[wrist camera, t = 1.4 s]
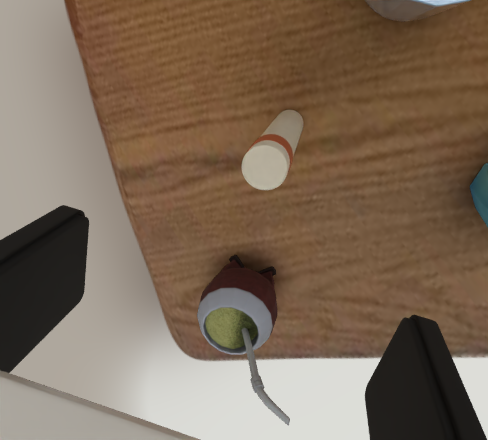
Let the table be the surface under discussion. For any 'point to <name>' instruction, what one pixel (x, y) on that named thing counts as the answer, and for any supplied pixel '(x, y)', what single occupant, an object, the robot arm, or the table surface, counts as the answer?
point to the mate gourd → (241, 316)
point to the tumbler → (411, 8)
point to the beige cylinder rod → (273, 152)
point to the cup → (481, 193)
